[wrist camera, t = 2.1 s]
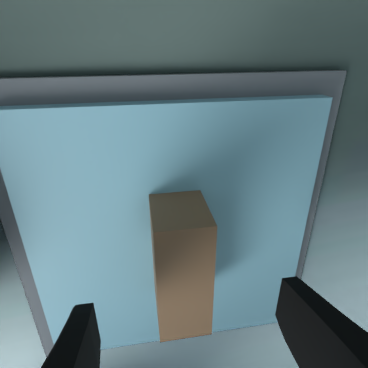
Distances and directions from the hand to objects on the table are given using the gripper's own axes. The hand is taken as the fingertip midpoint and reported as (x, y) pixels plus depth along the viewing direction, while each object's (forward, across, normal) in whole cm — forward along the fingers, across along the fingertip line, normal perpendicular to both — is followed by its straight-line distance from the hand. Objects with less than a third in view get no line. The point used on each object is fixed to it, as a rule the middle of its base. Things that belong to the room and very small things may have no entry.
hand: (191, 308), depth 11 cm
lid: (+5, 0, 0) cm, 5 cm away
